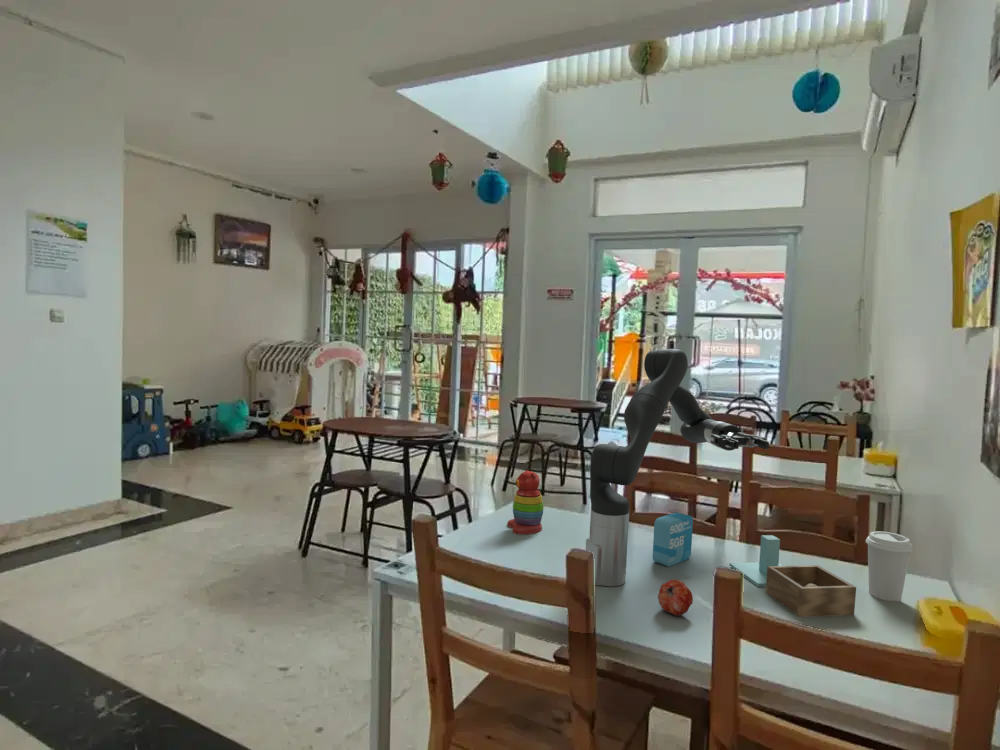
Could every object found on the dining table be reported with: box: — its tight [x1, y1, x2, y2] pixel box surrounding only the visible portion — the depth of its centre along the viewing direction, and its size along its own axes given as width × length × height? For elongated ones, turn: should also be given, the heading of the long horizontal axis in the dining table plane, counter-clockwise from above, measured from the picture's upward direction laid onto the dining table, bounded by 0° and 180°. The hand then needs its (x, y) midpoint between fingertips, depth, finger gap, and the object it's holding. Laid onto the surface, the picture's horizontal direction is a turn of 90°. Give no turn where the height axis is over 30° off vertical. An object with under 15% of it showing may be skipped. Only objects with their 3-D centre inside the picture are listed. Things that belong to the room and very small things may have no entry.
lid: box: [728, 534, 784, 588], centre depth 160 cm, size 14×14×11 cm
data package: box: [652, 512, 694, 567], centre depth 171 cm, size 12×4×12 cm, turn 132°
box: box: [765, 564, 857, 618], centre depth 144 cm, size 13×13×7 cm
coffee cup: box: [865, 530, 914, 603], centre depth 150 cm, size 10×10×15 cm
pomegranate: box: [657, 578, 694, 617], centre depth 139 cm, size 7×7×10 cm
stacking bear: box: [506, 469, 545, 536], centre depth 193 cm, size 11×10×18 cm
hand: (752, 445), depth 169 cm, fingers open, 8 cm apart
